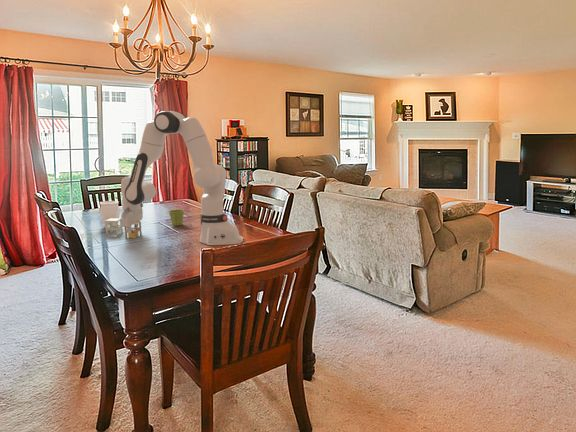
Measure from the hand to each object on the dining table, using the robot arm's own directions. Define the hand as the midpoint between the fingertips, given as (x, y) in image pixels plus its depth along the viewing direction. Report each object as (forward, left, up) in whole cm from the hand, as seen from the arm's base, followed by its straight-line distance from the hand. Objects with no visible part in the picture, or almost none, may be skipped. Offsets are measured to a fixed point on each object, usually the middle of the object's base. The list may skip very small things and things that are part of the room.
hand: (133, 231), depth 230 cm
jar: (+23, -24, -3) cm, 33 cm away
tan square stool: (0, 0, -3) cm, 3 cm away
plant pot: (-15, -30, -3) cm, 34 cm away
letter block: (0, 0, -3) cm, 3 cm away
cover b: (+13, -6, -3) cm, 15 cm away
